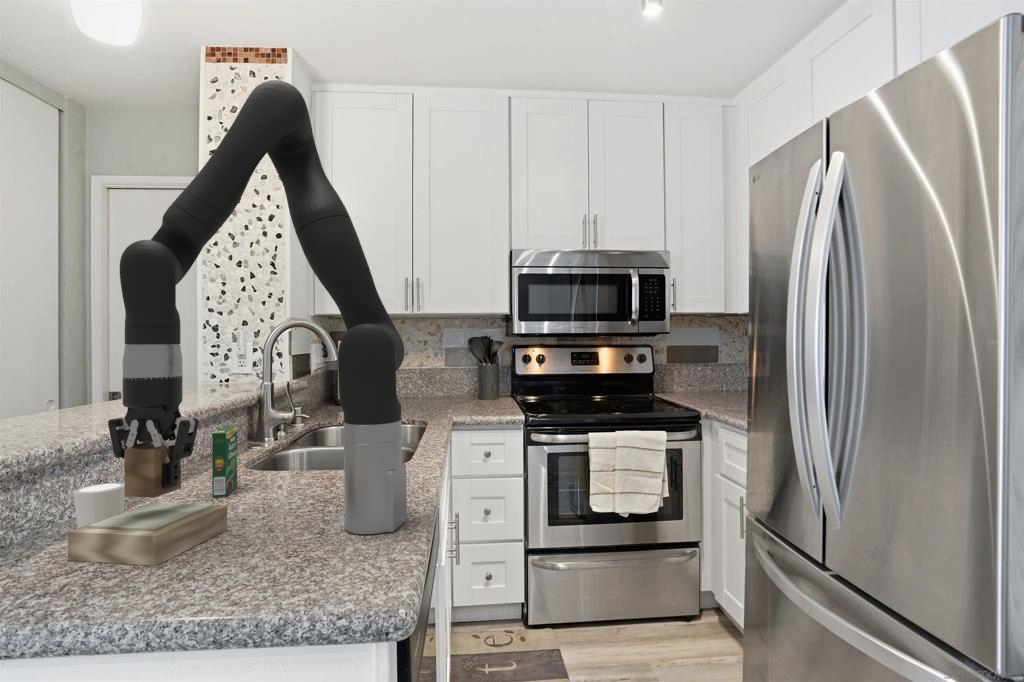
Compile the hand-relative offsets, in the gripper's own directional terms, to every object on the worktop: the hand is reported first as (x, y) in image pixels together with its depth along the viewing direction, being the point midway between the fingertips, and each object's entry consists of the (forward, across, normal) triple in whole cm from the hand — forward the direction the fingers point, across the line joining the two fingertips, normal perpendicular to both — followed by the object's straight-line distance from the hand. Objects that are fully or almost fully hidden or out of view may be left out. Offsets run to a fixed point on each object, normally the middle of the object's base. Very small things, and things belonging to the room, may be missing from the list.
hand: (153, 485), depth 79 cm
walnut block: (+1, 0, 0) cm, 1 cm away
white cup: (+9, +14, -4) cm, 17 cm away
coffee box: (+9, +9, -27) cm, 30 cm away
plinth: (+9, 0, 0) cm, 9 cm away
